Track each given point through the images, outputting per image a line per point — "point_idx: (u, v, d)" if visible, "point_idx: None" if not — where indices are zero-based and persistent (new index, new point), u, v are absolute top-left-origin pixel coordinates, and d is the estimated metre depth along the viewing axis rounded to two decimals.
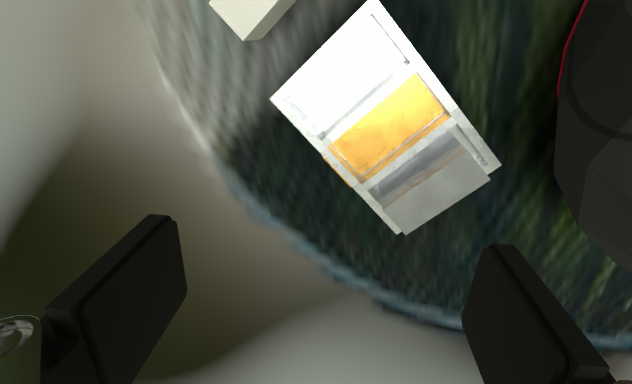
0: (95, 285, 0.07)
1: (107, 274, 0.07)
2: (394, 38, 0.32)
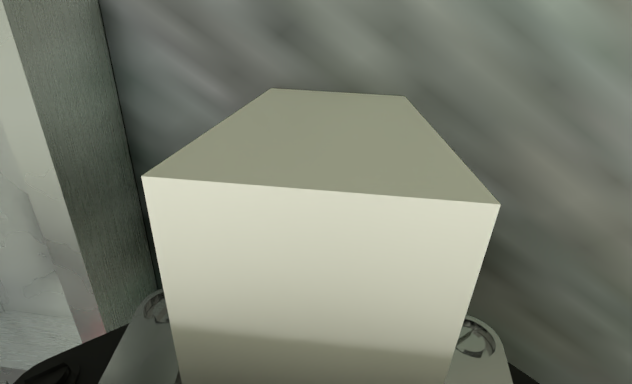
0: None
1: None
2: (13, 370, 0.12)
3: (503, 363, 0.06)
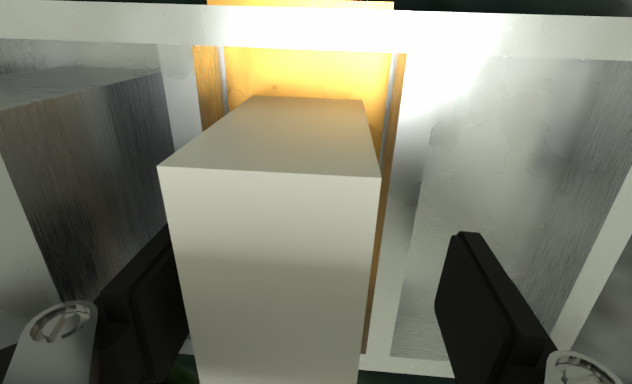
0: (142, 272, 0.07)
1: (152, 263, 0.08)
2: None
3: None
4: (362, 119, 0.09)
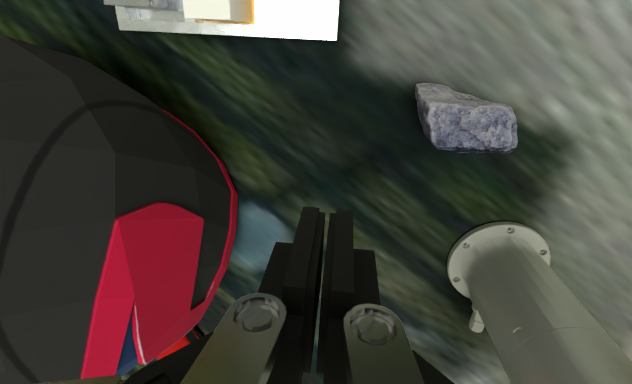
0: (308, 267, 0.08)
1: (309, 258, 0.08)
2: (293, 28, 0.32)
3: (405, 343, 0.06)
4: None
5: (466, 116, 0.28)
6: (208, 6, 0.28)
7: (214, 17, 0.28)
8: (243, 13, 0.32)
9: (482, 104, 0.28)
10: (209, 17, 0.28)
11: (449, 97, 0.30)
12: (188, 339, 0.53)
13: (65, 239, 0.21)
